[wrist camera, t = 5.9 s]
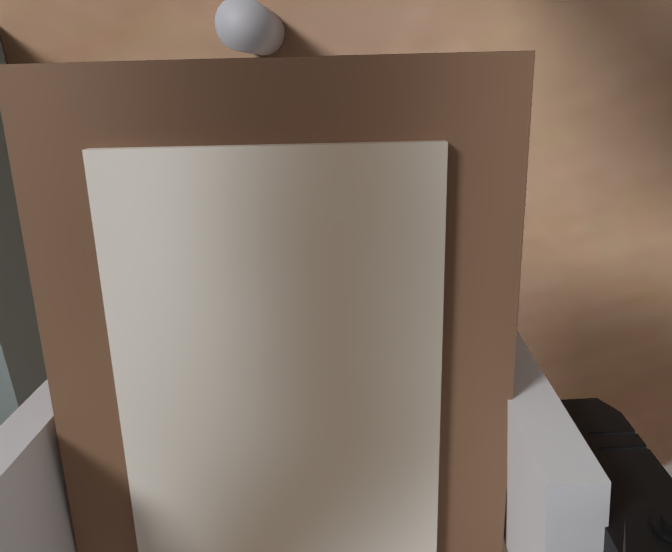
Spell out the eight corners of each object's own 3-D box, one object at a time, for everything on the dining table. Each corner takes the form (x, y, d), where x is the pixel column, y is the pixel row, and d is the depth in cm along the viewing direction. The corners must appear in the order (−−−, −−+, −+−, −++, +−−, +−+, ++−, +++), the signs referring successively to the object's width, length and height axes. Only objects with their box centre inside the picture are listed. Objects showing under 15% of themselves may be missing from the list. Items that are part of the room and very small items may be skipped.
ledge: (64, 464, 30) (6, 538, 25) (-54, 30, 24) (-157, 19, 20) (338, 444, 29) (331, 517, 24) (278, -14, 23) (255, -37, 19)
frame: (182, 584, 17) (114, 793, 12) (122, 67, 13) (-17, 64, 8) (448, 583, 17) (490, 796, 12) (467, 58, 13) (539, 50, 8)
